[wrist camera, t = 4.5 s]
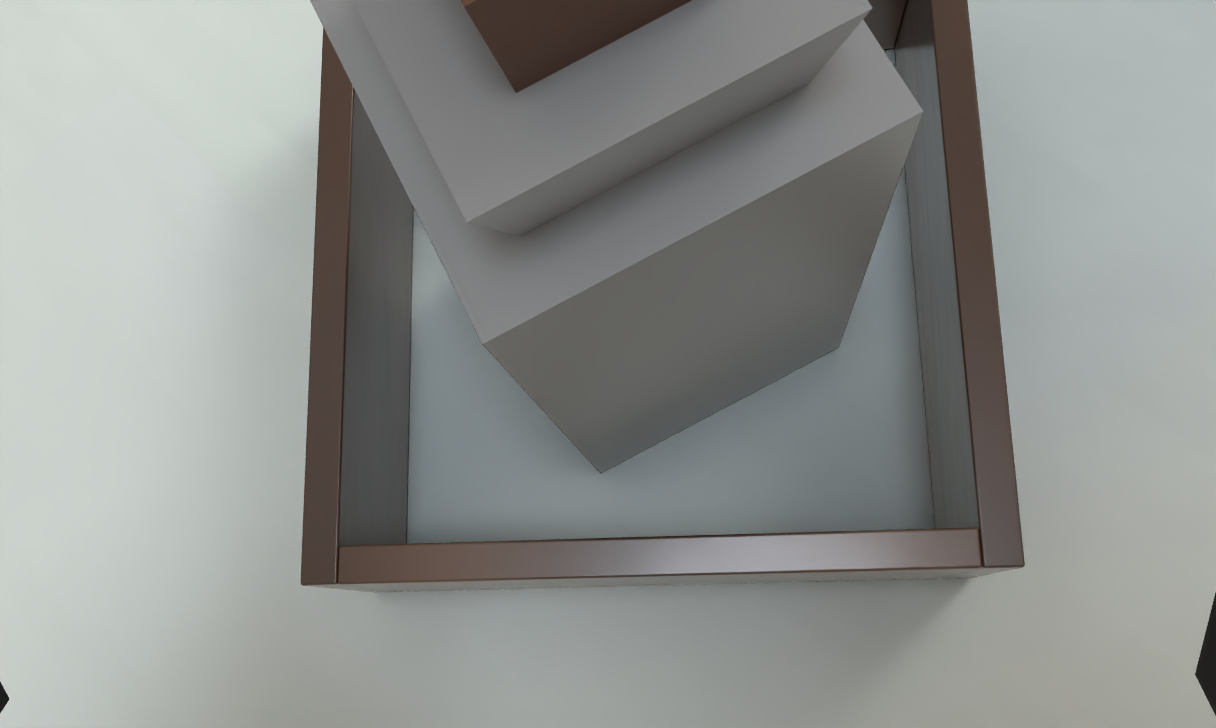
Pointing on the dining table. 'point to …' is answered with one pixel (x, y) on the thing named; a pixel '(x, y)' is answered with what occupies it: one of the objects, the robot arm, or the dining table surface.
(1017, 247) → the dining table surface
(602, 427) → the perfume bottle
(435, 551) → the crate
